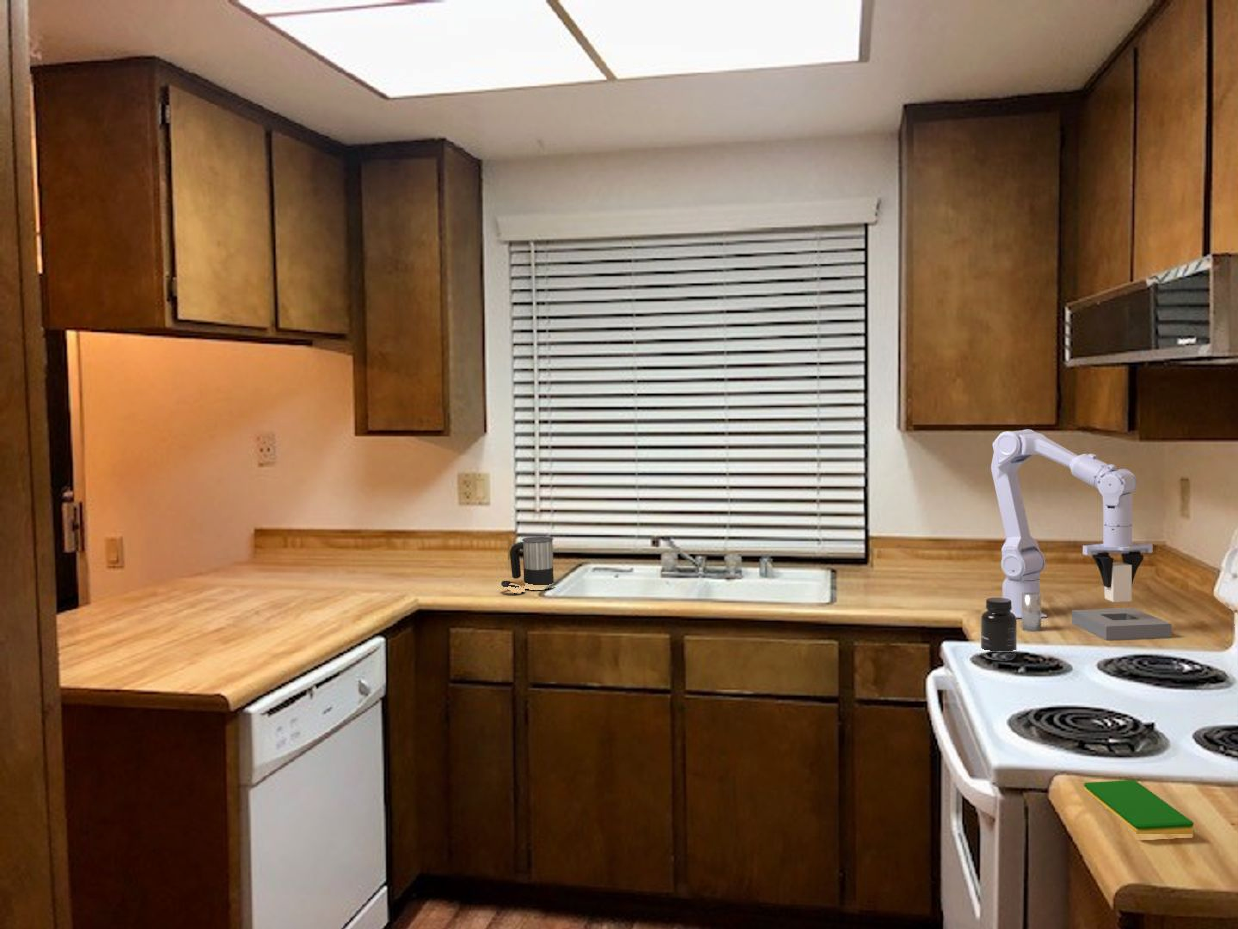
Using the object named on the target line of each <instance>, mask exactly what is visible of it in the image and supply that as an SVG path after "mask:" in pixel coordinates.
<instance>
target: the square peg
mask: <svg viewBox="0 0 1238 929" xmlns="http://www.w3.org/2000/svg"><path fill="white" fill-rule="evenodd" d="M1111 575H1112V582H1111V587H1109V588H1108V587H1105V586H1104V599H1105V600H1108V601H1109V602H1112V603H1122V602H1124V603H1125V602H1132V600H1133V599H1132V598H1133V596H1132V595H1133V593H1132V592H1133V591H1132V587H1133V584H1132V565H1130V564H1127V563H1124V562H1123V561H1117V562H1114V561H1113V565H1112V574H1111Z"/></svg>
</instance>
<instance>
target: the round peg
mask: <svg viewBox="0 0 1238 929" xmlns="http://www.w3.org/2000/svg"><path fill="white" fill-rule="evenodd" d="M1041 612H1042V594H1041V593H1040V594H1039V593H1031V592H1028V593H1022V618H1021V630H1023V629H1024V630H1023V631H1025V630H1027V631H1026V632H1040V631H1042V617H1041Z"/></svg>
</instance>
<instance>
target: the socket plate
mask: <svg viewBox="0 0 1238 929" xmlns="http://www.w3.org/2000/svg"><path fill="white" fill-rule="evenodd" d="M1071 624H1073V625H1075V626H1077V627H1079V628H1081V629H1083V630H1085V631H1087V632H1089V633H1091V634H1092V635H1095V636H1096V637H1098V638H1101V639H1103V640H1105V641H1120V640H1142V639H1143V640H1147V639H1166V638H1167V639H1168V638H1172V623H1171V622H1168V621H1166V620H1163V619H1161V618H1159V617H1155V616H1153V615H1151V614H1149V613H1146V612H1144V611H1141V610H1139V609H1136V608H1134V607H1119V608H1117V607H1116V608H1099V609H1097V608H1096V609H1093V608H1092V609H1072V610H1071Z"/></svg>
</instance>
